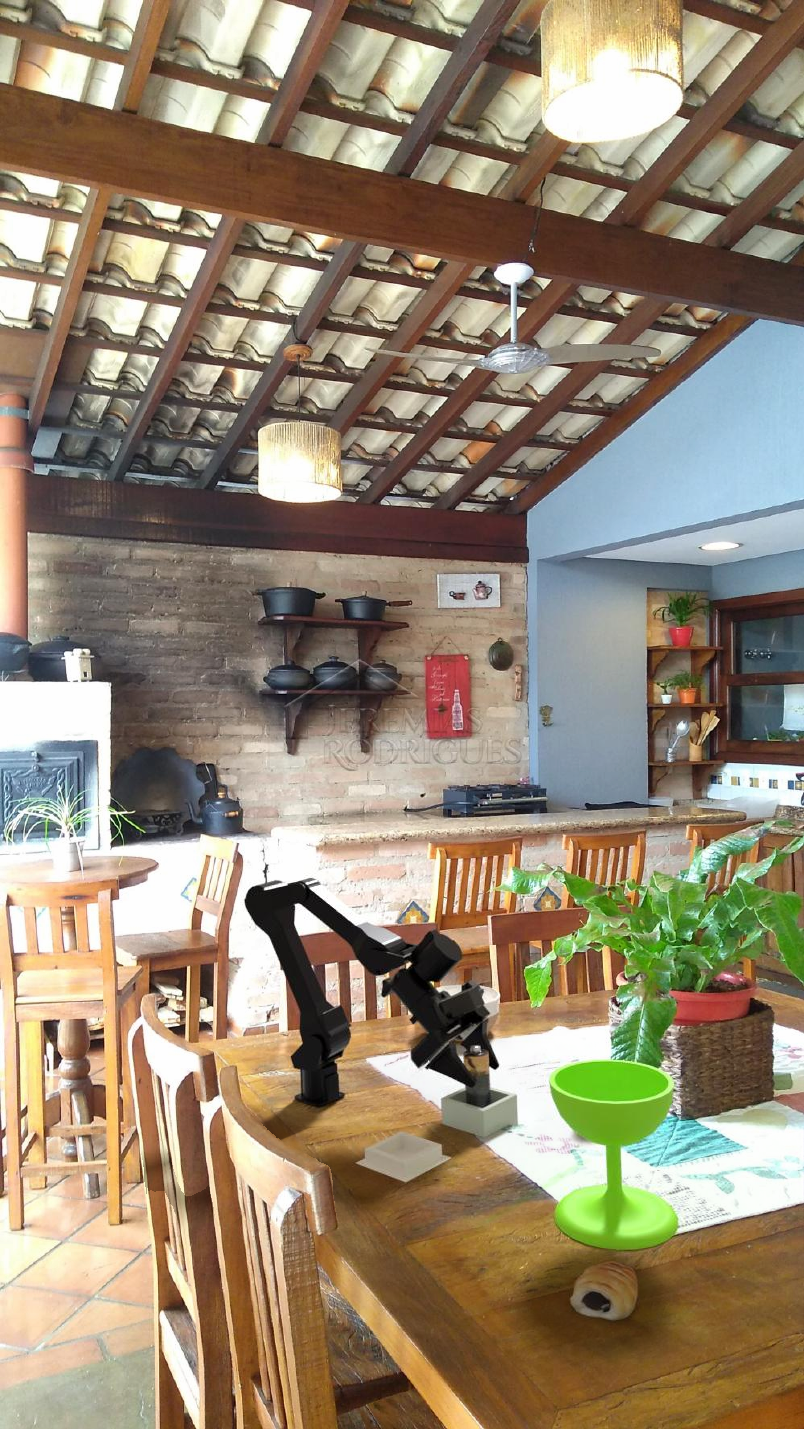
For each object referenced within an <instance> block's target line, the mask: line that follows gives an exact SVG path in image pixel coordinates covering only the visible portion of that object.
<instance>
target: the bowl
mask: <svg viewBox="0 0 804 1429" xmlns="http://www.w3.org/2000/svg"><path fill="white" fill-rule="evenodd" d="M462 985H463V984H453V985H452V984H451V985H445V986H439V987H435V988H436V989H437V990H438V992H439V993H440V992H441V991H443V990H444V991H447V992H448V993H449V994H450V996H452V995H455V994H457V993H459V992H461V986H462ZM479 986H480V988H482V989H484V993H483V996H482V998H483V1001H484V1003H485V1004H484V1006H485V1008H486V1009H487V1010H488V1011H489V1012H490V1015H489V1016H488V1017H487V1018H488V1019H489V1022H488V1023H487V1036H488V1035H489V1034H490V1031H491V1029H493V1027H494V1026H495V1025H496V1023H497V1020H498V1019H499V1011H500V1006H499V1005H500V1004H499V1001H500V998H501V994H500V991H498V990H496V989H495V988H493V987H488V986H483V985H479ZM487 1018H486V1019H487ZM486 1019H485V1020H486ZM454 1040H455V1041H456V1042H462V1041H463V1040H464V1039H463V1040H459V1039H457V1038H456V1037H455V1038H454V1039H452V1040H451V1041H450V1042H452V1041H454Z"/></svg>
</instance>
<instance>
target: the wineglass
mask: <svg viewBox="0 0 804 1429" xmlns="http://www.w3.org/2000/svg"><path fill="white" fill-rule="evenodd" d="M548 1082H549V1083H548V1084H549V1087H550V1093H551V1097H552V1101H553V1103H554V1105H555V1107H556V1109H557V1111H558V1114H559V1116H560V1117H561V1118H562V1119H563V1121H564V1122H565V1123H566V1124H567V1125H568V1127H569V1128H571V1130H573V1132H574V1133H576V1134H577V1135H579V1136H581V1137H583V1138H584V1139H585V1140H587V1141H588V1142H591V1143H595V1144H597V1145H601V1146H605V1160H606V1184H596V1185H591V1186H585V1187H582V1188H578V1189H576V1190H573V1191H571V1192H569V1193H568V1194H566V1195H565V1196H563V1197H562V1199H561V1200H560V1201H559V1202H558V1203H557V1205H556V1207H555V1210H554V1214H553V1219H554V1222H555V1225H556V1226H557V1227H558V1228H559V1229H560V1230H561V1231H562V1233H563V1234H565V1235H566V1236H568V1237H570V1238H572V1239H573V1240H575V1241H577V1242H580V1243H583V1244H585V1245H588V1246H591V1247H596V1248H601V1249H609V1250H618V1251H628V1250H629V1251H630V1250H631V1251H632V1250H641V1249H647V1248H652V1247H656V1246H658V1245H662V1244H663V1243H665V1242H667V1241H668V1240H670V1239H671V1238H672V1237H673V1236H675V1235H676V1233H677V1231H678V1230H679V1227H680V1226H679V1225H680V1222H679V1223H678V1220H679V1221H680V1219H679V1217H678V1214H677V1212H676V1210H674V1207H673V1206H672V1205H670V1204H669V1203H668V1202H667V1201H666V1200H665V1199H664V1198H662V1197H661V1196H658V1195H657V1194H655V1193H654V1192H651V1191H648V1190H644V1189H643V1188H638V1187H633V1186H630V1185H623V1177H622V1173H623V1172H622V1149H621V1147H625V1146H632V1145H634V1144H638V1143H639V1142H641V1141H643V1140H644V1139H646V1138H648V1137H649V1136H651V1135H653V1134H654V1133H655V1132H656V1130H658V1129H659V1127H660V1126H661V1125H662V1123H663V1122H664V1121H665V1120H666V1118H667V1117H668V1114H669V1113H670V1112H669V1111H670V1109H671V1106H672V1104H673V1097H674V1088H675V1086H674V1084H675V1080H674V1079H673V1077H672V1076H671V1075H670V1074H668V1072H665V1071H664V1070H662V1069H660V1068H657V1067H655V1066H652V1065H651V1064H650V1065H649V1064H644V1063H642V1062H639V1061H638V1062H637V1061H636V1062H635V1061H630V1060H623V1059H622V1060H621V1059H590V1060H583V1061H577V1062H572V1063H568V1064H566V1065H565V1064H564V1065H563V1066H560V1067H558V1068H556V1069H554V1071H552V1072H551V1073H550V1075H549V1078H548ZM678 1224H679V1225H678ZM677 1229H678V1230H677Z"/></svg>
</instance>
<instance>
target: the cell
mask: <svg viewBox="0 0 804 1429" xmlns="http://www.w3.org/2000/svg"><path fill="white" fill-rule="evenodd" d="M462 1057H463V1058H462V1059H463V1061H462V1062H463V1063H464V1065H465V1066H466V1068H467V1069H468V1070H469V1072H470V1073H471V1075H472V1076H473V1078H474V1080H475V1081H476V1085H475V1086H474V1087H473V1088H470V1087H468V1086H466V1085H464V1088H465V1092H466V1104H470V1105H473V1106H476V1107H480V1108H484V1107H486V1106H488V1105H490V1104H491V1091H490V1087H491V1078H490V1076H491V1075H490V1067H489V1055H488V1051H486V1050H482V1049H480V1046H479V1045H473V1046H471V1047H470V1050H465V1051H464V1052H463V1053H462Z"/></svg>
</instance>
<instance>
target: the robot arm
mask: <svg viewBox="0 0 804 1429" xmlns="http://www.w3.org/2000/svg"><path fill="white" fill-rule="evenodd" d="M243 900H244V901H243V902H244V908H245V909H246V911H247V913H248V914H249V916H250V918H251V920H252V921H253V923H254V925H255V926H257V928H259V929H260V930H261V931H262V932H263V933H265V934H266V935H267V936H268V938H269V941H270V943H271V944H272V948H273V950H274V952H275V955H276V956H277V960H278V962H279V965H280V967H281V968H282V972H283V974H284V976H285V979H286V981H287V983H288V985H289V988H290V991H291V993H292V996H293V998H294V1002H295V1003H296V1006H297V1007H298V1010H299V1014H300V1015H299V1029H298V1030H299V1035H300V1038H301V1043H302V1044H301V1045H300V1046H299V1047H297V1049H296V1050H295V1051H294V1052H292V1054H291V1056H290V1061H291V1063H292V1067H293V1068H294V1069H296V1070H299V1072H300V1073H299V1074H300V1076H299V1077H300V1093H298V1094H295V1095H294V1098H293V1099H294V1100H296V1101H300V1102H303V1103H306V1104H309V1105H310V1106H311V1105H312V1106H314V1107H317V1108H320V1107H322V1106H325V1105H327V1104H330V1103H332V1102H334V1101H337V1100H340V1099H342V1098H344V1097H345V1096H346V1093H345V1092H342V1091H340V1077H339V1076H340V1075H339V1072H338V1063H337V1062H335V1061H337V1060H338V1059H340V1058H342V1057H344V1056H343V1055H344V1054H345V1049H346V1048H348V1045H349V1044H350V1041H351V1039H352V1034H351V1029H350V1028H351V1027H352V1024H351V1023H350V1022H349V1021H348V1018H347V1017H346V1013H345V1009H344V1007H343V1006H342V1005H340V1004H339V1005H337V1006H333V1005H332V1004H331V1003H330V1002H329V1001H328V1000H327V998H326V996H325V994H324V992H323V989H322V987H321V985H320V982H319V980H318V977H317V975H316V973H315V970H314V968H313V966H312V964H311V961H310V958H309V956H308V954H307V952H306V949H305V947H304V944H303V942H302V940H301V937H300V936H299V932H298V929H297V928H296V925H295V922H296V921H295V920H296V919H295V918H296V917H295V916H296V905H301V906H302V907H303V908H305V909H306V910H307V911H308V912H309V913H311V914H312V915H313V916H314V917H316V919H318V920H319V921H321V922H322V923H323V924H324V925H325V926H326V927H328V928H329V929H330V930H331V931H332V932H334V933H335V934H336V935H337V936H339V937H340V938H341V939H342V940H344V941H345V942H346V943H347V944H348V945H349V946H350V947H351V949H352V952H353V953H354V956H355V959H356V960H357V961H358V962H359V963H360V964H361V965H362V966H363V967H364V969H365V970H366V971H367V972H368V973H369V974H371V975H373V976H374V977H375V976H376V977H378V976H384V975H385V976H386V975H387V974H388V973H389V974H390V973H391V972H394V971H395V970H397V969H399V968H400V969H399V970H397V971H396V972H395V974H394V975H393V976H392V977H386V978H385V979H383V980H381V984H382V986H381V987H382V988H381V995H380V996H381V997H382V998H387V997H388V996H390V995H393V994H394V995H395V996H396V997H397V998H398V999H399V1001H400V1002H401V1003H402V1005H404V1007H405V1008H406V1010H408V1011H409V1013H410V1014H411V1017H409V1019H408V1020H409V1021H410V1022H411V1024H412V1025H415V1024H417V1023H418V1024H419V1025H420V1027H421V1028H422V1029H423V1030H424V1031H425V1033H426V1035H425V1036H424V1037H422V1039H421V1040H420V1041H419V1042H418V1043H417V1044H416V1045H415V1046H414V1047H413V1048H412V1049H411V1050H410V1061H411V1062H412V1063H413V1065H414V1066H415V1067H416V1068H417V1069H421V1068H422V1067H424V1066H425V1067H424V1069H425V1070H432V1071H434V1072H436V1073H439V1074H441V1075H444V1076H445V1077H448V1078H450V1079H452V1080H454V1081H456V1082H458V1083H460V1084H462V1085H464V1086H465V1085H466V1086H468V1087H470V1088H473V1087H474V1086H475V1085H476V1081H475V1080H474V1078H473V1076H472V1075H471V1073H470V1072H469V1070H468V1069H467V1068H466V1066H465V1065H464V1061H462V1059H461V1058H460V1056H459V1055H458V1051H457V1043H456V1042H457V1041H455V1040H454V1041H451V1040H452V1039H454V1038H455V1037H456V1038H457V1039H459V1040H463V1039H464V1040H463V1041H460V1044H459V1045H460V1046H461V1047H462V1048H464V1049H465V1051H467V1050H470V1047H471V1046H473V1045H479V1046H480V1049H482V1050H486V1051H488V1055H489V1068H490V1069H493V1071H496V1070H497V1069H498V1068H499V1067H500V1063H499V1061H498V1059H497V1056H496V1053H495V1051H494V1049H493V1047H492V1045H491V1042H490V1039H489V1037H488V1035H487V1023H488V1022H489V1019H488V1018H487V1017H488V1016H489V1015H490V1012H489V1011H488V1010H487V1009H486V1008H485V1006H484V1004H485V1003H484V1001H483V998H482V996H483V993H484V989H482V988H480V986H481V985H480V984H478V983H477V982H476V981H475V980H474V979H471V980H468V981H466V982H465V983H462V984H461V985H462V986H461V992H459V993H457V994H455V995H452V996H450V994H449V993H448V992H447V991H444V990H443V991H441V992H440V993H439V992H438V990H437V989H436V988H437V987H435V985H434V984H433V983H436V984H437V983H440V982H441V981H442V980H443V979H444V978H445V977H446V976H447V975H448V974H449V973H450V972H451V971H452V970H453V969H454V968H455V967H456V966H457V964H458V963H459V962H460V961H461V960H462V959H463V955H464V954H463V951H462V948H461V947H460V945H459V943H457V942H456V941H455V940H454V939H452V938H451V937H449V936H447V935H446V934H443V933H439V931H438V930H437V929H436V928H433V929H431V930H429V931H428V932H426V934H425V935H424V937H423V938H422V940H421V941H420V942H419V943H418V944H414V943H411V942H407V941H405V940H404V939H403V938H402V937H401V936H399V935H398V934H396V933H394V932H393V931H390V930H388V929H387V928H384V927H381V926H378V925H375V924H372V923H370V922H368V921H367V920H365V919H364V918H363V917H362V916H360V914H358V913H357V912H355V911H354V910H353V909H352V908H351V907H349V906H348V905H346V904H345V903H344V902H343V901H342V900H340V899H339V898H338V897H337V896H335V895H334V894H333V893H331V891H329V890H328V889H327V888H326V887H325V886H323V885H322V884H321V881H319V880H318V879H316V878H314V877H308V878H305V879H301V880H298V881H292V882H289V883H286V882H284V881H282V880H280V879H274V880H271V881H268V882H264V883H260V884H256V885H253V886H251V887H250V888H249V889H248V890H247V892H246V894H245V898H244V899H243ZM409 963H411V964H410V965H409V966H408V967H407V968H406V967H405V968H402V966H405V965H407V964H409ZM486 1018H487V1019H486ZM485 1019H486V1020H485Z"/></svg>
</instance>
